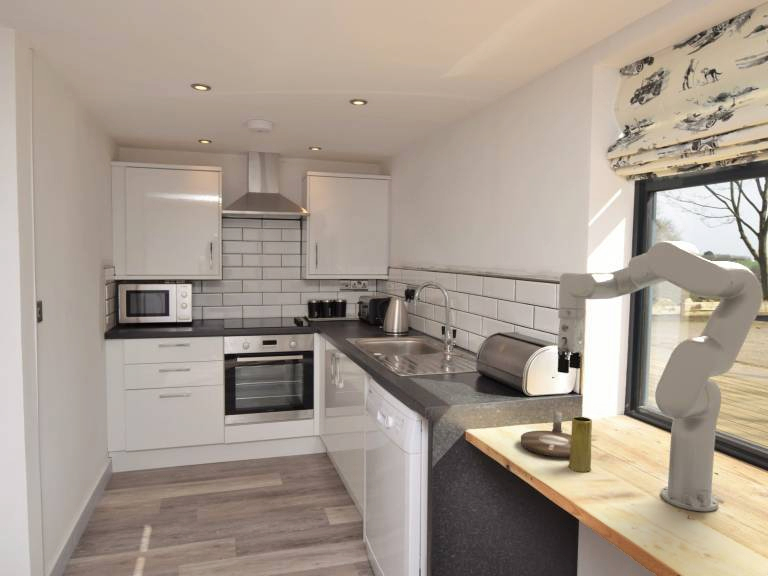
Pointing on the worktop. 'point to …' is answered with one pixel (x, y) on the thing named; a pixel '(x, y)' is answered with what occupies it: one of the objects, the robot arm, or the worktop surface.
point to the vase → (580, 444)
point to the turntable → (549, 440)
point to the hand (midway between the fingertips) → (568, 370)
